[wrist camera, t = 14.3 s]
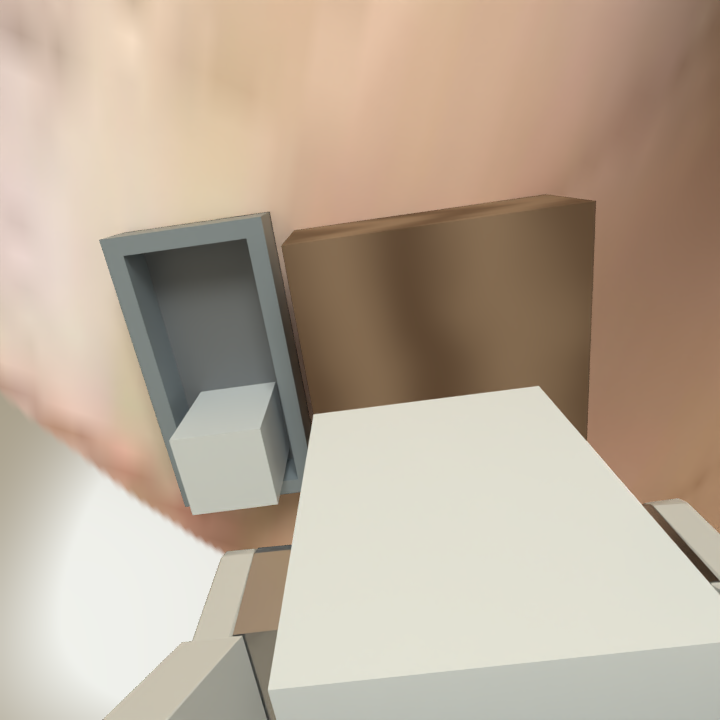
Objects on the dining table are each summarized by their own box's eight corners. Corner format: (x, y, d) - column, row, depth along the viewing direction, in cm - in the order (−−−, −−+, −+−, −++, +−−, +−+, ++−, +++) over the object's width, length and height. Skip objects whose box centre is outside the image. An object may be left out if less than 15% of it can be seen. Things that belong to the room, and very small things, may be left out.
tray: (269, 211, 23) (260, 216, 21) (318, 463, 28) (316, 489, 26) (124, 232, 23) (98, 239, 21) (198, 479, 28) (185, 506, 26)
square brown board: (545, 194, 23) (595, 201, 18) (545, 449, 28) (584, 504, 24) (294, 230, 23) (281, 245, 19) (338, 475, 29) (336, 535, 24)
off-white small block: (275, 381, 26) (259, 428, 21) (289, 447, 27) (278, 504, 23) (200, 391, 26) (168, 440, 21) (219, 456, 27) (192, 515, 23)
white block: (538, 385, 9) (757, 637, 4) (539, 563, 10) (699, 902, 5) (313, 414, 9) (267, 689, 4) (345, 585, 10) (339, 934, 6)
